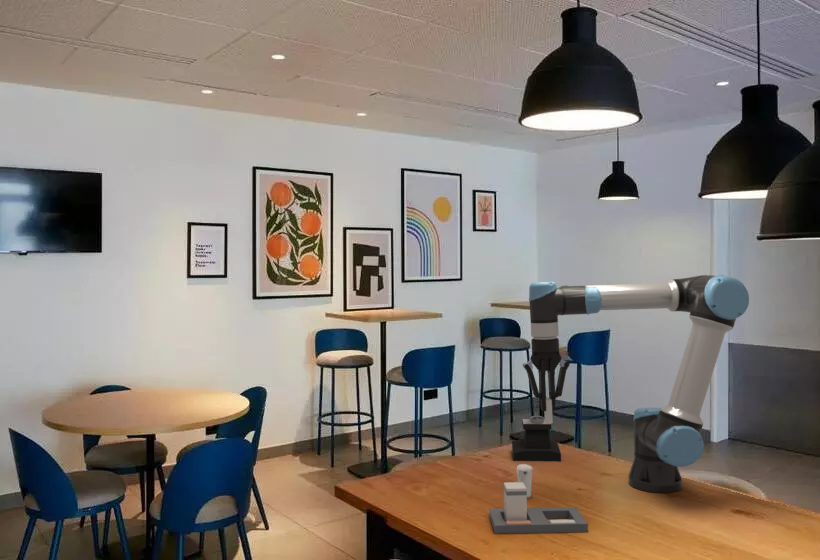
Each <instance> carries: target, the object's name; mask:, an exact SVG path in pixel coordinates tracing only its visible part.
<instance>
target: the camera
mask: <svg viewBox="0 0 820 560" xmlns="http://www.w3.org/2000/svg"><path fill="white" fill-rule="evenodd" d="M521 421H522V422H521V423H522V424H521V425H522V429H523V430H524V432H523V438H521V439H517V440H512V441H511V453H512V459H513V462H561V461H562V452H561V449H560V447H559V444H558V441H557V440H552V439H550V435H549V431H551V430H552V423H548V424H547V423H546V422H545V416H541V415H533V416H531V417H529V418H526V417H525V418H522V420H521Z"/></svg>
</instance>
